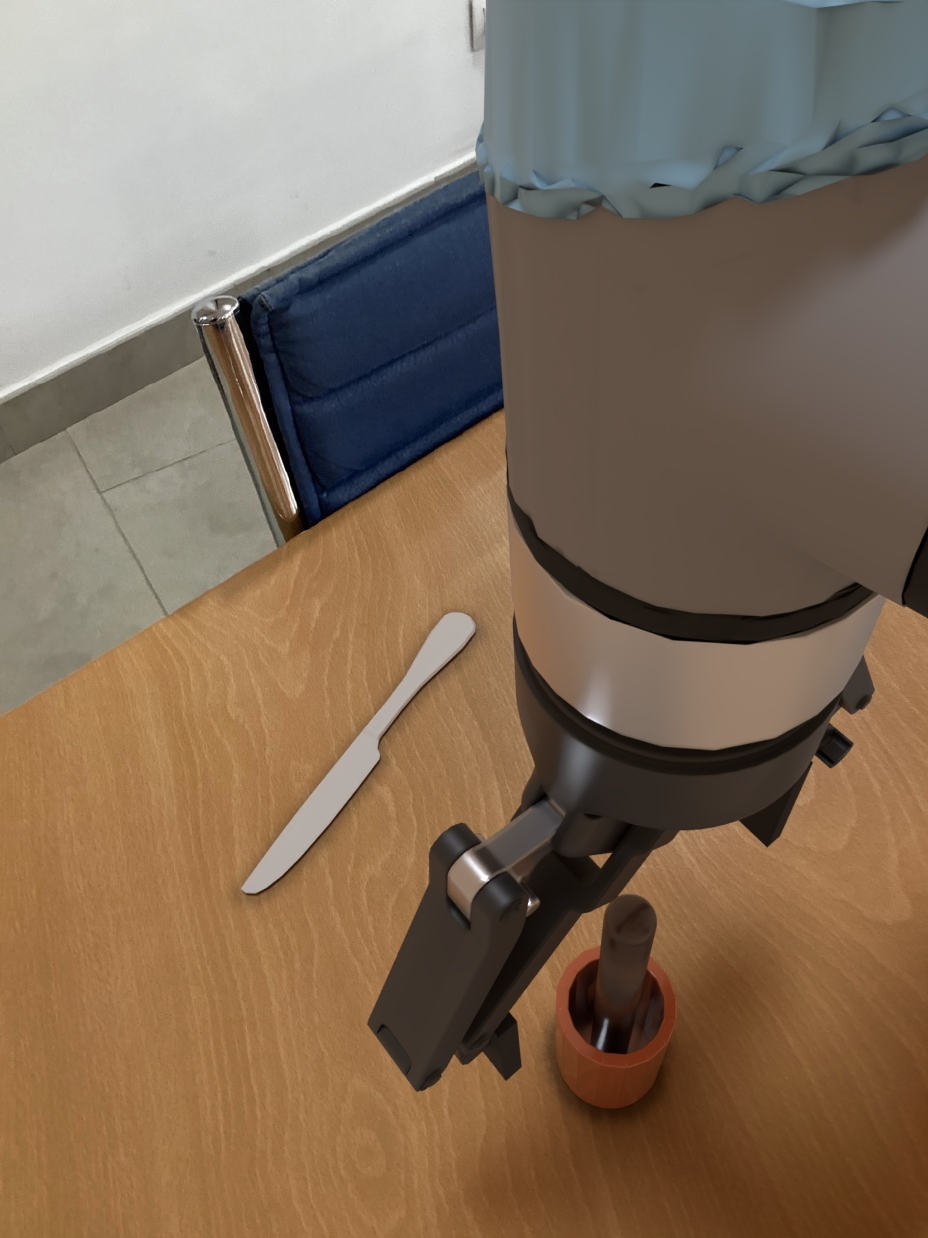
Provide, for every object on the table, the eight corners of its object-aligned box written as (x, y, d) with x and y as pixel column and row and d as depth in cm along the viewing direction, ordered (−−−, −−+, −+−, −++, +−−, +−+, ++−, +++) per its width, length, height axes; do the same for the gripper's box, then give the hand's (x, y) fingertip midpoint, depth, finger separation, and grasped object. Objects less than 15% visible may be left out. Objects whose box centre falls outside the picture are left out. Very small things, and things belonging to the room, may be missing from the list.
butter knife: (485, 622, 74) (450, 605, 75) (263, 905, 63) (227, 879, 64) (485, 626, 74) (451, 608, 75) (265, 907, 64) (229, 882, 65)
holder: (681, 1060, 57) (702, 1011, 49) (605, 1133, 56) (613, 1094, 47) (609, 980, 60) (618, 920, 52) (535, 1046, 58) (531, 996, 50)
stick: (634, 1053, 57) (670, 914, 39) (607, 1078, 56) (631, 949, 38) (608, 1023, 58) (632, 875, 40) (581, 1048, 57) (593, 908, 39)
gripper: (907, 277, 29) (773, 679, 46) (102, 833, 21) (304, 1065, 39) (1165, 422, 25) (915, 798, 43) (311, 1155, 18) (430, 1250, 35)
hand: (625, 925), depth 41 cm, fingers open, 13 cm apart
